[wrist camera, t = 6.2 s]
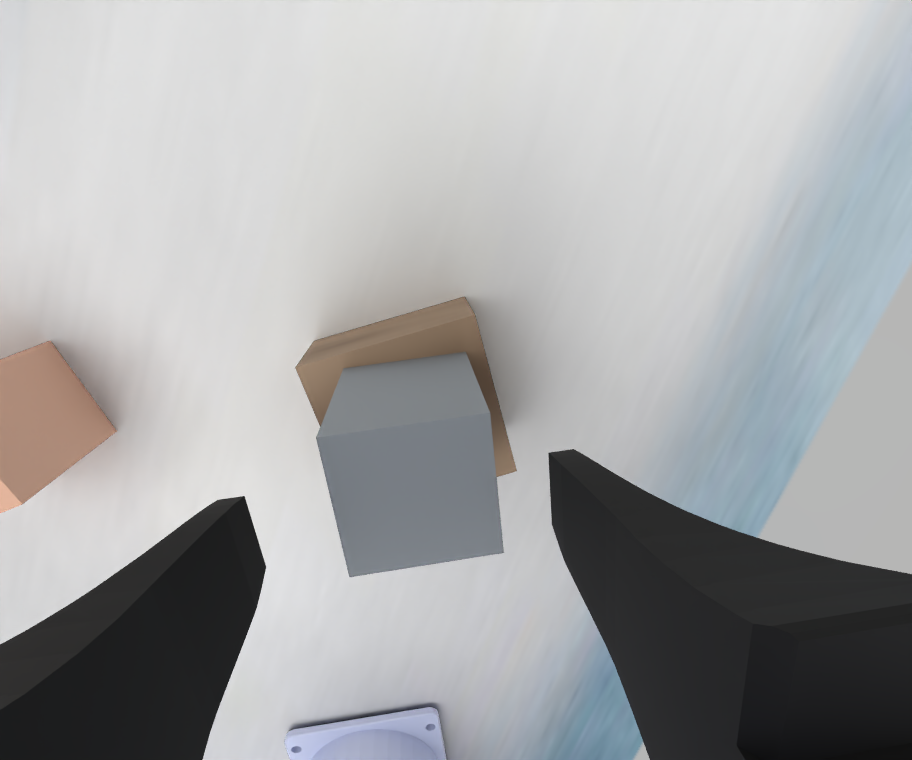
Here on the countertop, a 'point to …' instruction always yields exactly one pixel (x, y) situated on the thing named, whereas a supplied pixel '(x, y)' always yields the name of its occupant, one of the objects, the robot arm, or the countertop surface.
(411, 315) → the walnut block
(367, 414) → the slate block
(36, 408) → the terracotta block
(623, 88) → the countertop surface
